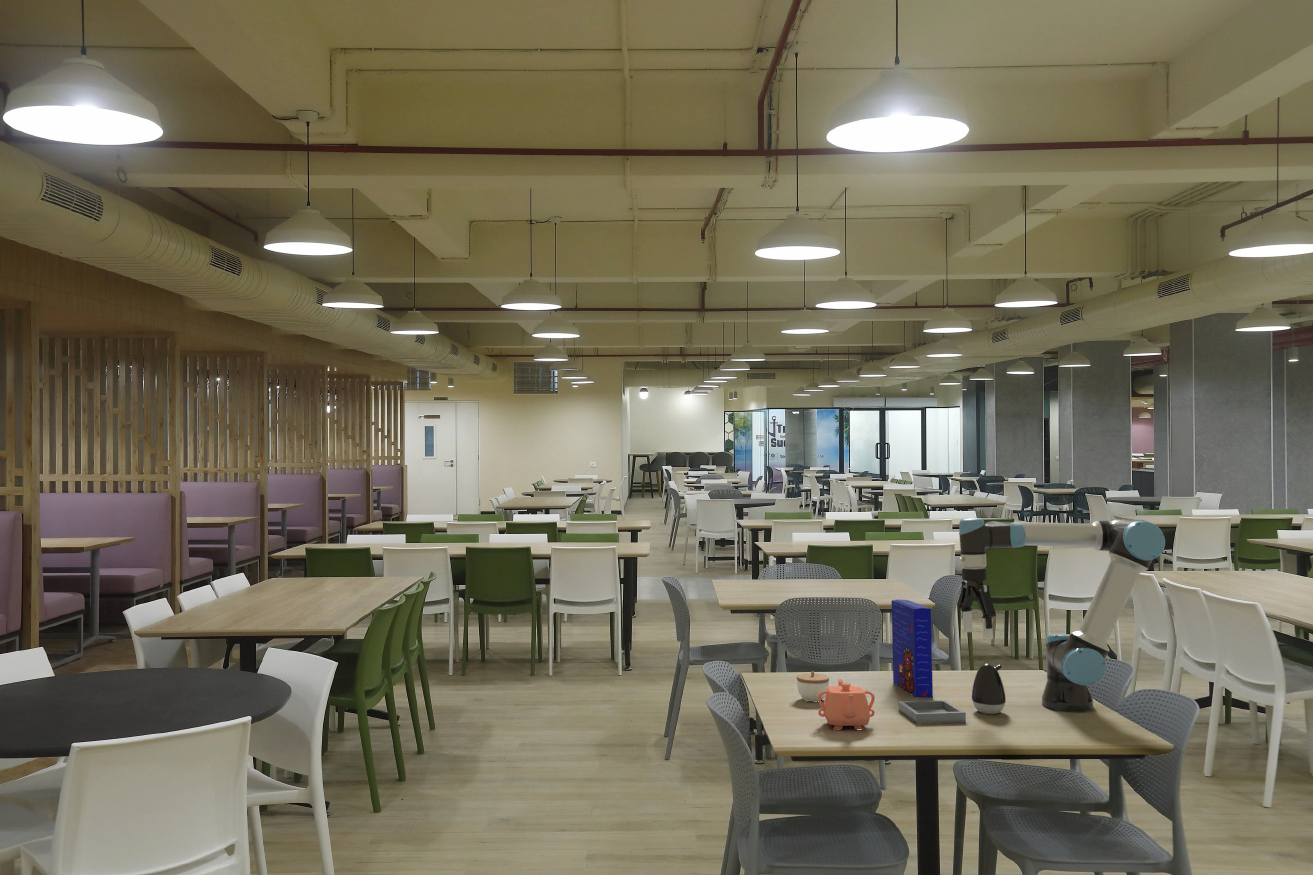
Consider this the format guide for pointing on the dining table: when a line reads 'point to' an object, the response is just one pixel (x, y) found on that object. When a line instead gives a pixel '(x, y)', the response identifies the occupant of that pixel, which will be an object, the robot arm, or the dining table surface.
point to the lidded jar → (812, 685)
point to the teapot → (846, 705)
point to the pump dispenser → (988, 690)
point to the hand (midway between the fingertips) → (978, 635)
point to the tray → (932, 712)
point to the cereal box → (912, 647)
